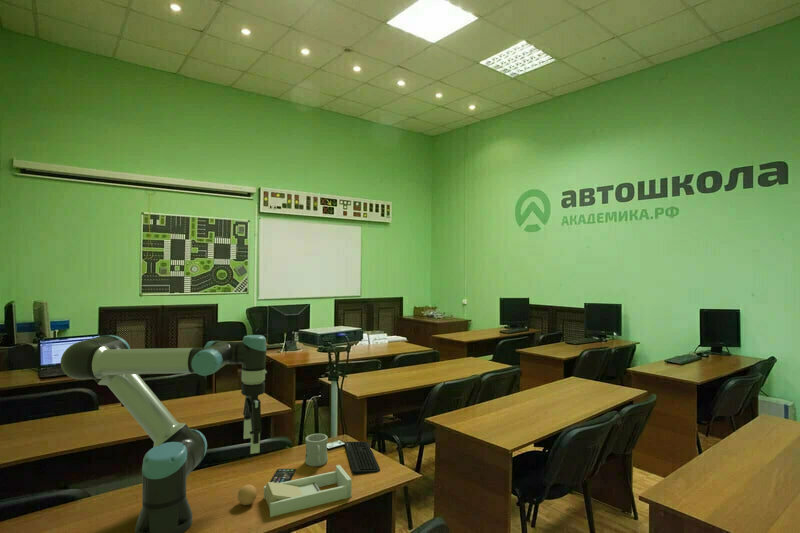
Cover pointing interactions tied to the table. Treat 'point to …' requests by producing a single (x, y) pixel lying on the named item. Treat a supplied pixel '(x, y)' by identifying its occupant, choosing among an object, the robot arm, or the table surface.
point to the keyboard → (361, 458)
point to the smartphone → (283, 475)
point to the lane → (307, 492)
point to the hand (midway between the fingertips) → (251, 445)
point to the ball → (247, 494)
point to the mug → (316, 450)
